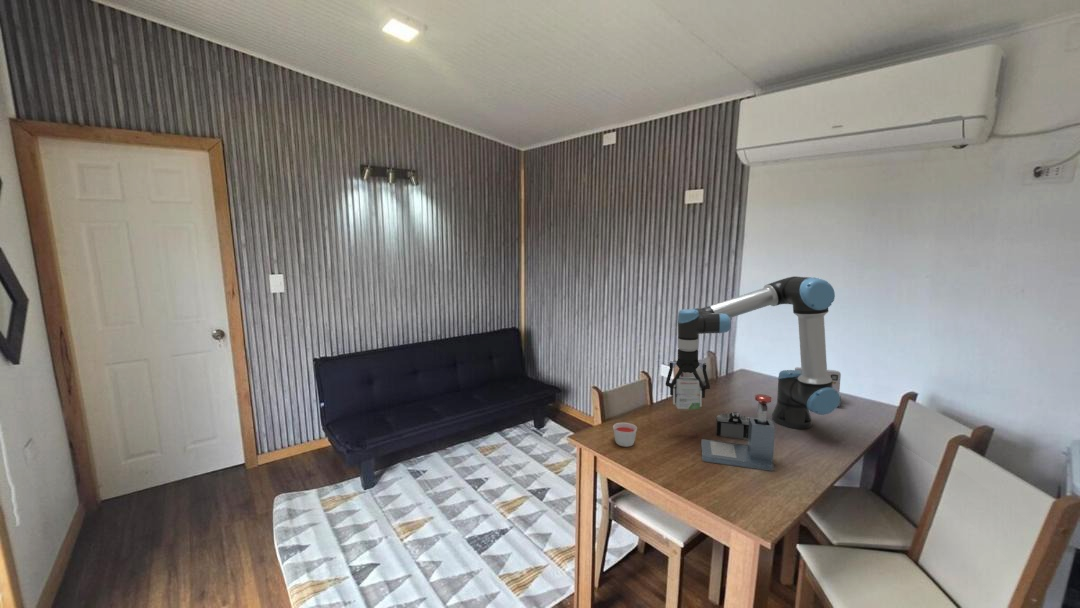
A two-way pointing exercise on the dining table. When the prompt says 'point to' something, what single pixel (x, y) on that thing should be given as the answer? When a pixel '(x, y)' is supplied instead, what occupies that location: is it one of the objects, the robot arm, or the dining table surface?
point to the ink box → (687, 393)
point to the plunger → (762, 407)
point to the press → (744, 448)
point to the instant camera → (835, 379)
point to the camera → (732, 425)
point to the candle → (624, 434)
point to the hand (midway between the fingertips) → (687, 404)
